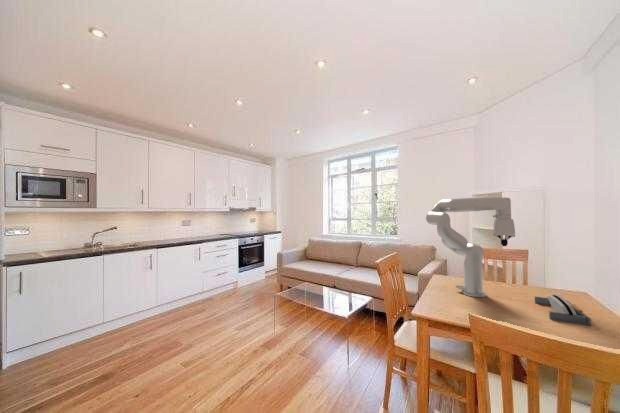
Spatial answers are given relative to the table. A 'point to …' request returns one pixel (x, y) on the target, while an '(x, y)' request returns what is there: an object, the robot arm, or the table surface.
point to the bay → (577, 319)
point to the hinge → (561, 305)
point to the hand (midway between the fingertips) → (504, 245)
